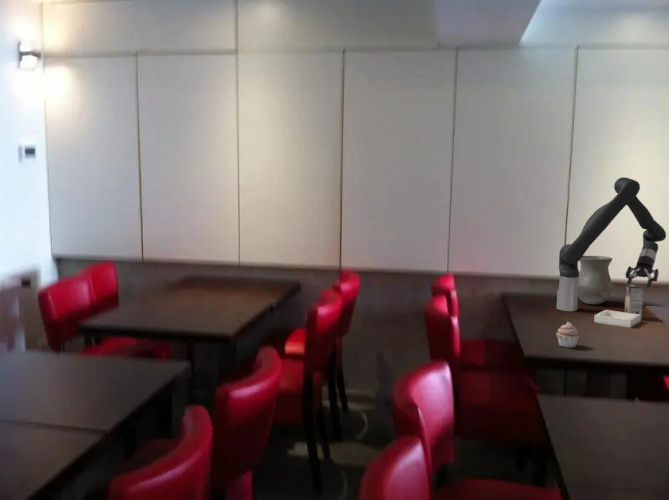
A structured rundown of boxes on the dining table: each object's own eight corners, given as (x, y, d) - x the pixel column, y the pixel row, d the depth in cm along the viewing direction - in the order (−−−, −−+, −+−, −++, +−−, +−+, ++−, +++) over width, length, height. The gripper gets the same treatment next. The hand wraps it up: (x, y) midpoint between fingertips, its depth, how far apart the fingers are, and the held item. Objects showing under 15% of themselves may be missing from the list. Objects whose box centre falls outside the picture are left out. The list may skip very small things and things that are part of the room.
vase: (565, 301, 360) (567, 255, 357) (591, 298, 368) (593, 254, 365) (593, 308, 342) (595, 260, 339) (620, 305, 350) (623, 258, 347)
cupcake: (560, 341, 275) (561, 318, 274) (582, 345, 269) (584, 321, 268) (551, 346, 268) (552, 322, 266) (574, 350, 262) (575, 325, 261)
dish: (594, 322, 310) (594, 315, 310) (605, 316, 323) (605, 309, 322) (630, 327, 300) (630, 320, 300) (640, 321, 312) (640, 314, 312)
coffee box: (623, 315, 325) (625, 283, 323) (637, 316, 324) (639, 284, 322) (627, 320, 316) (629, 286, 314) (642, 320, 315) (644, 287, 313)
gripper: (630, 254, 333) (621, 279, 325) (660, 256, 324) (653, 282, 317) (632, 263, 338) (624, 288, 330) (663, 266, 329) (655, 292, 321)
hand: (638, 285), depth 323 cm, fingers open, 8 cm apart
